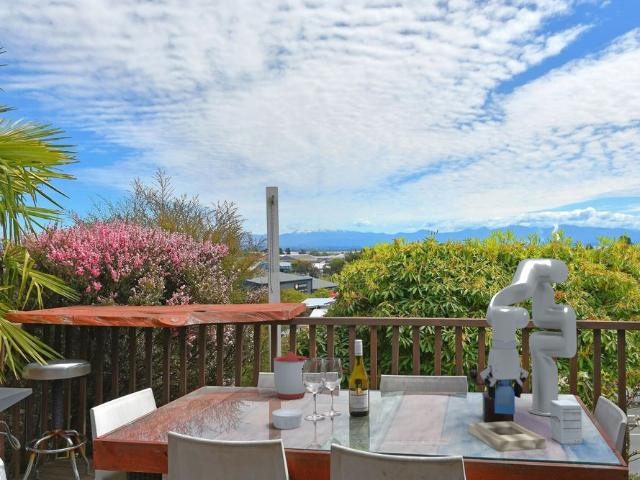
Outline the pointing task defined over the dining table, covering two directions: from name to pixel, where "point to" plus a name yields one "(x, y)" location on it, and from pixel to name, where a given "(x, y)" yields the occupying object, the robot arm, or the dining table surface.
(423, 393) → the dining table surface
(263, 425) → the dining table surface
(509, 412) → the perfume bottle
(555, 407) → the supplement box
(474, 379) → the coffee grinder
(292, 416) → the ramekin
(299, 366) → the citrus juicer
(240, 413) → the dining table surface
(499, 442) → the hole board
